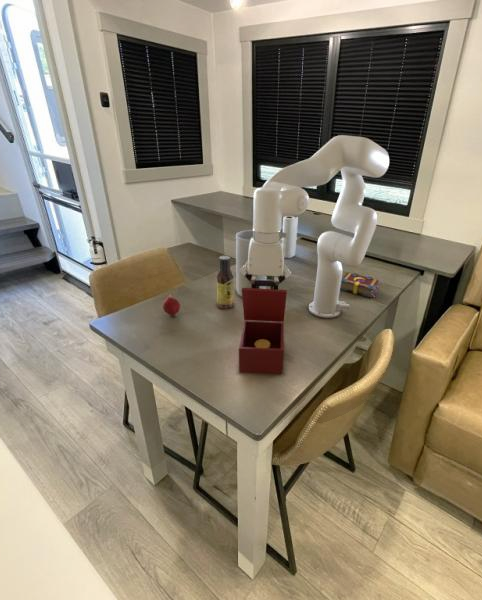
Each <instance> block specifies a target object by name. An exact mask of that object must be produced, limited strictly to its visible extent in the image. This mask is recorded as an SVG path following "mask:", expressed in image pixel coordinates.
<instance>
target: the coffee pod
mask: <svg viewBox="0 0 482 600" xmlns="http://www.w3.org/2000/svg"><path fill="white" fill-rule="evenodd" d="M255 348H270V342H269V341H268V340H265V339H260V340H257V341H256V342H255Z"/></svg>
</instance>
